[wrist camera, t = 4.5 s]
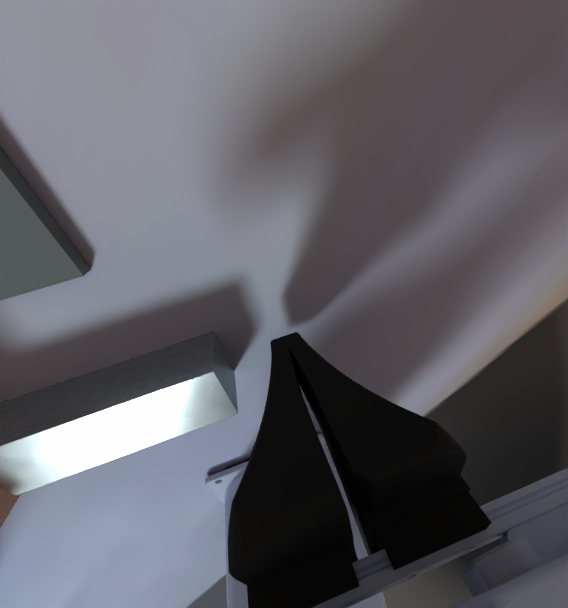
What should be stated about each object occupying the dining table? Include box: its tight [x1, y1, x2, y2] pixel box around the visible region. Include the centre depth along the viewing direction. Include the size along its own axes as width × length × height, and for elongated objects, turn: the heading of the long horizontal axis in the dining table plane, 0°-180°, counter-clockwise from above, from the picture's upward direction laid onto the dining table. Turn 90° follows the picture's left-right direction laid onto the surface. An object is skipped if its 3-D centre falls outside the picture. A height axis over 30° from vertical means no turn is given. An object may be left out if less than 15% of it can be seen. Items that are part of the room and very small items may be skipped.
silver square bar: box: [0, 331, 238, 495], centre depth 11 cm, size 10×3×3 cm, turn 103°
